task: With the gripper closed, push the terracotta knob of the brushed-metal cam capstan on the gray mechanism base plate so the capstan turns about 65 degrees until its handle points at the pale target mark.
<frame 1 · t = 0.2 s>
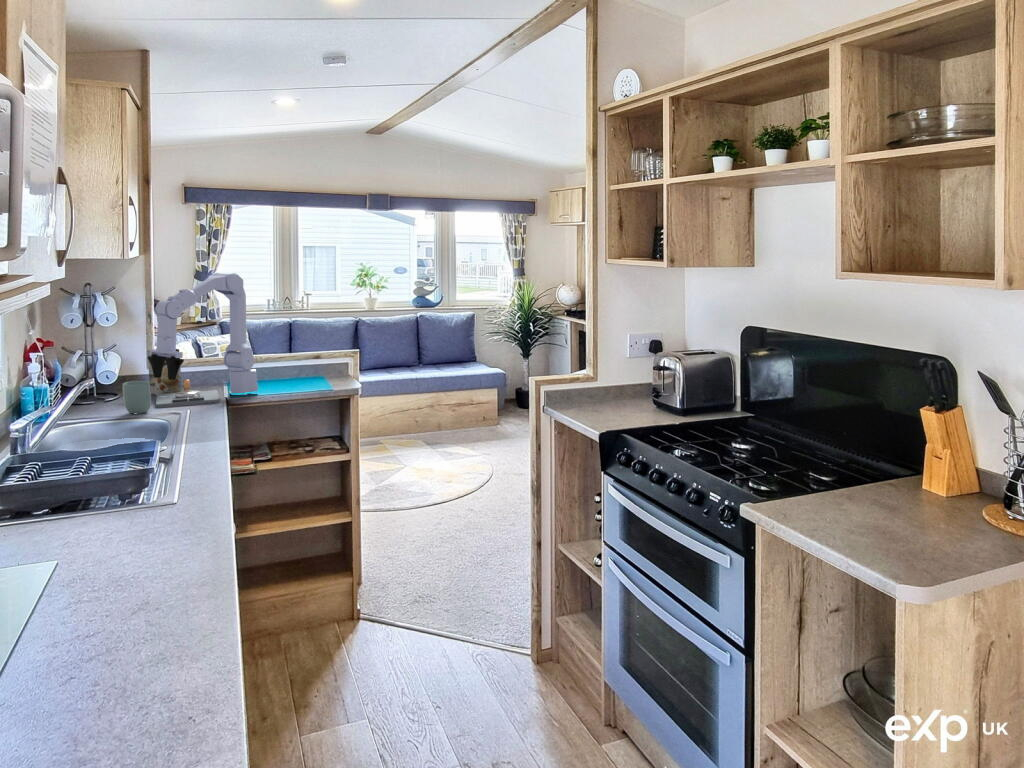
hand: (164, 378, 241), 11 cm above the countertop, tool pointing down, fingers open, 7 cm apart
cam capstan: (187, 388, 260), point 4 cm above the countertop, hinge at 0.0°
coffee box: (166, 393, 272), on the countertop
cup: (138, 413, 240), on the countertop
gray mechanism base plate: (188, 400, 259), on the countertop
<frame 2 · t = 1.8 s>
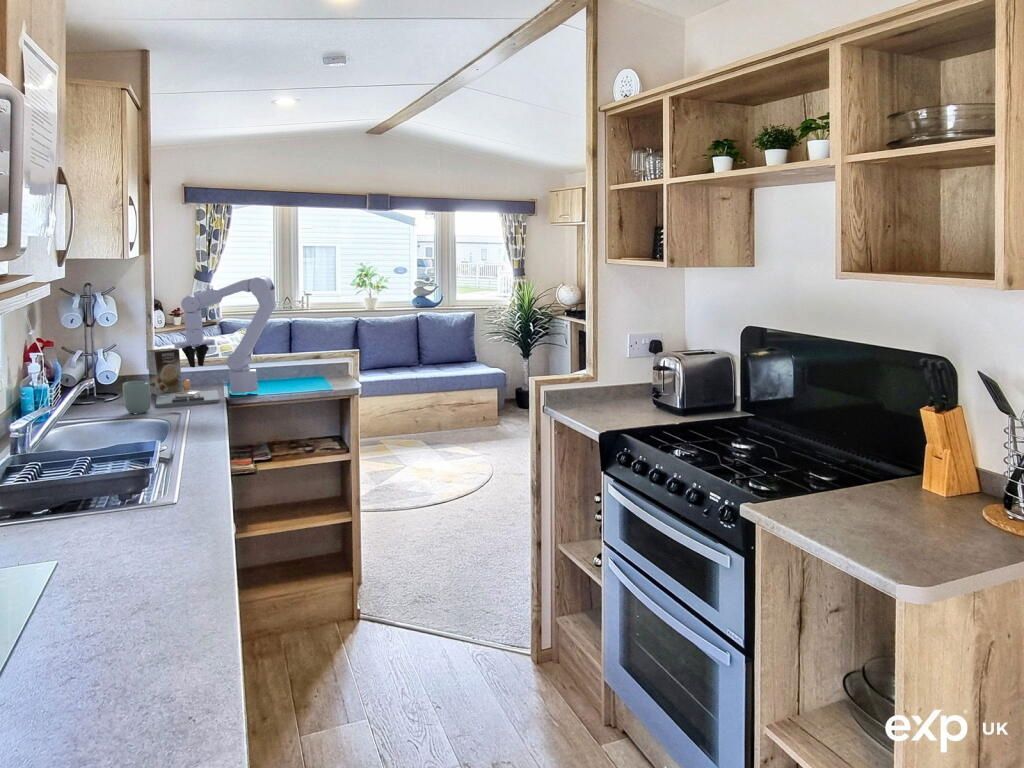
hand: (196, 366, 267), 10 cm above the countertop, tool pointing down, fingers open, 3 cm apart
nothing on the countertop moved.
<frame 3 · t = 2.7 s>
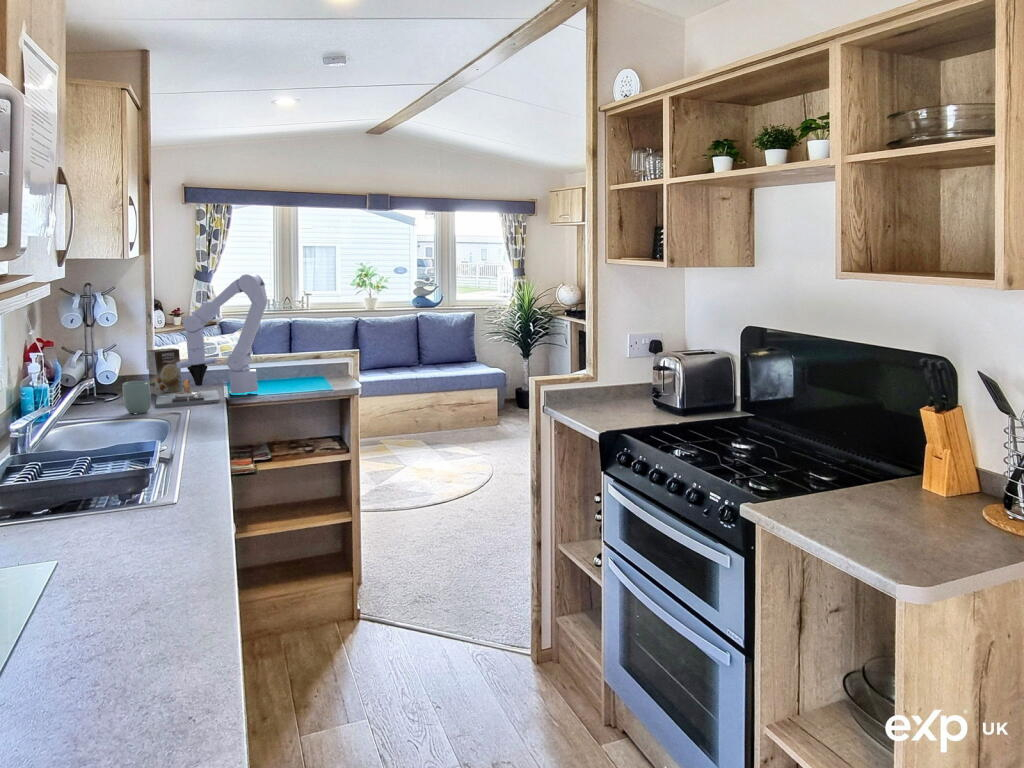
hand: (198, 385, 268), 3 cm above the countertop, tool pointing down, fingers closed
nothing on the countertop moved.
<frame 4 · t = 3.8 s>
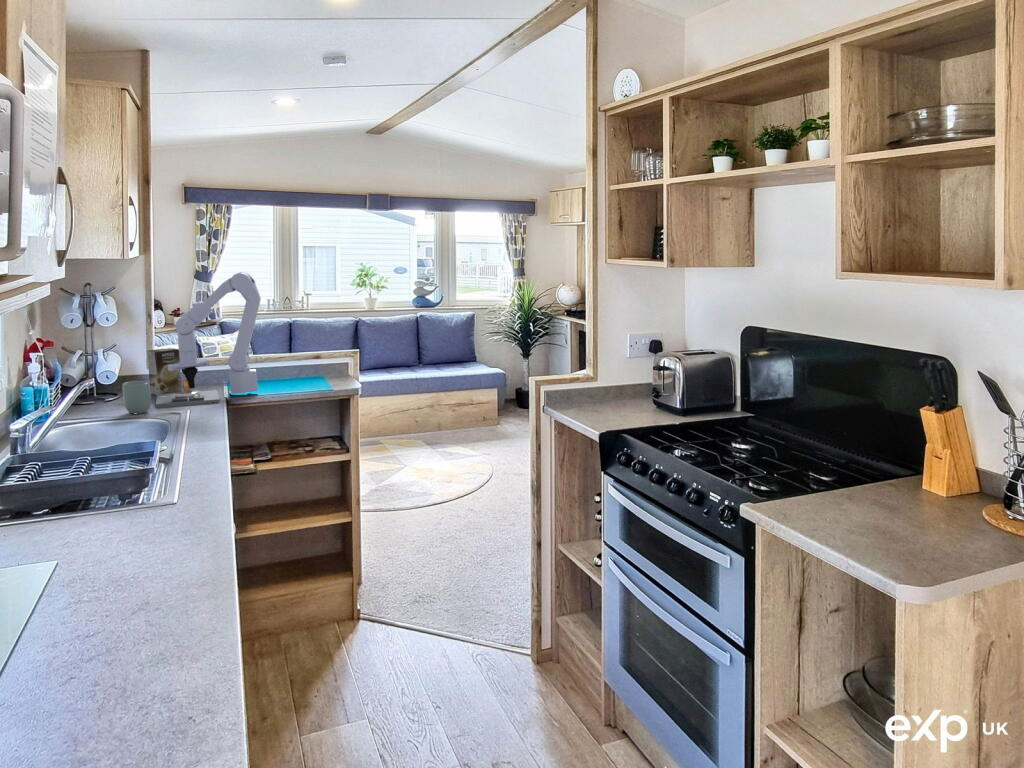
hand: (190, 388, 266), 3 cm above the countertop, tool pointing down, fingers closed, pressing on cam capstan
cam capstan: (187, 388, 260), point 4 cm above the countertop, hinge at 1.4°, touching gripper
everything else where it was.
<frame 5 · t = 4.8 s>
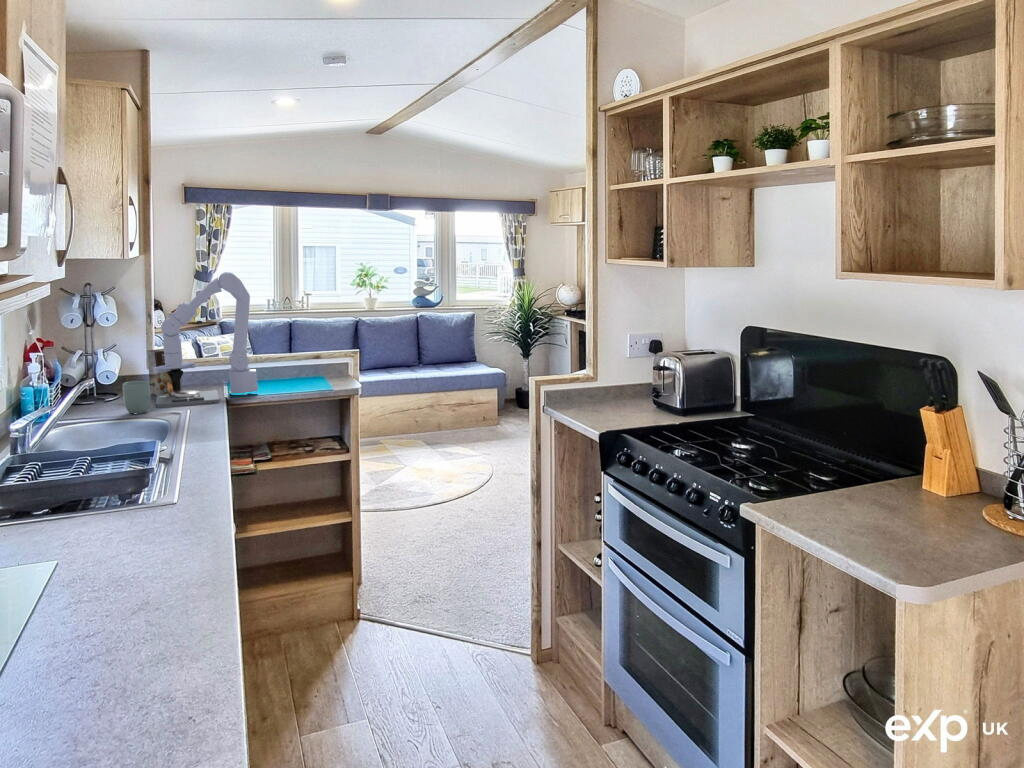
hand: (176, 390, 261), 3 cm above the countertop, tool pointing down, fingers closed, pressing on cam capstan
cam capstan: (182, 389, 259), point 4 cm above the countertop, hinge at 48.7°, touching gripper
everything else where it was.
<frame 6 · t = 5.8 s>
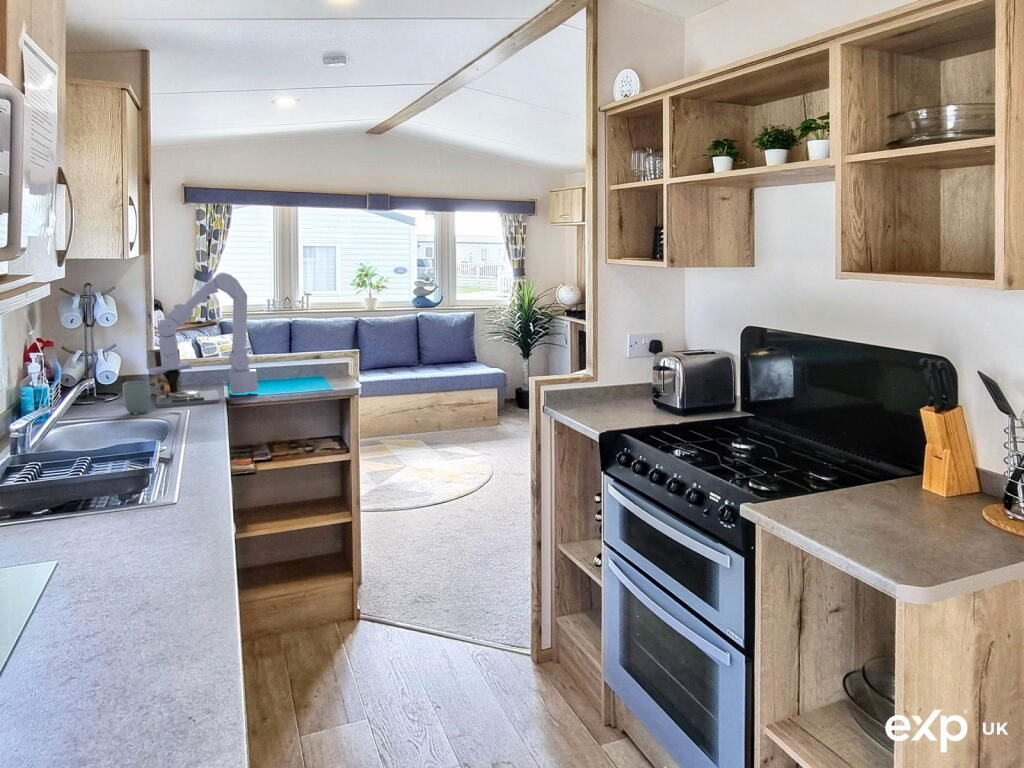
hand: (173, 391, 260), 3 cm above the countertop, tool pointing down, fingers closed, pressing on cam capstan
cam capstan: (181, 389, 259), point 4 cm above the countertop, hinge at 62.7°, touching gripper
everything else where it was.
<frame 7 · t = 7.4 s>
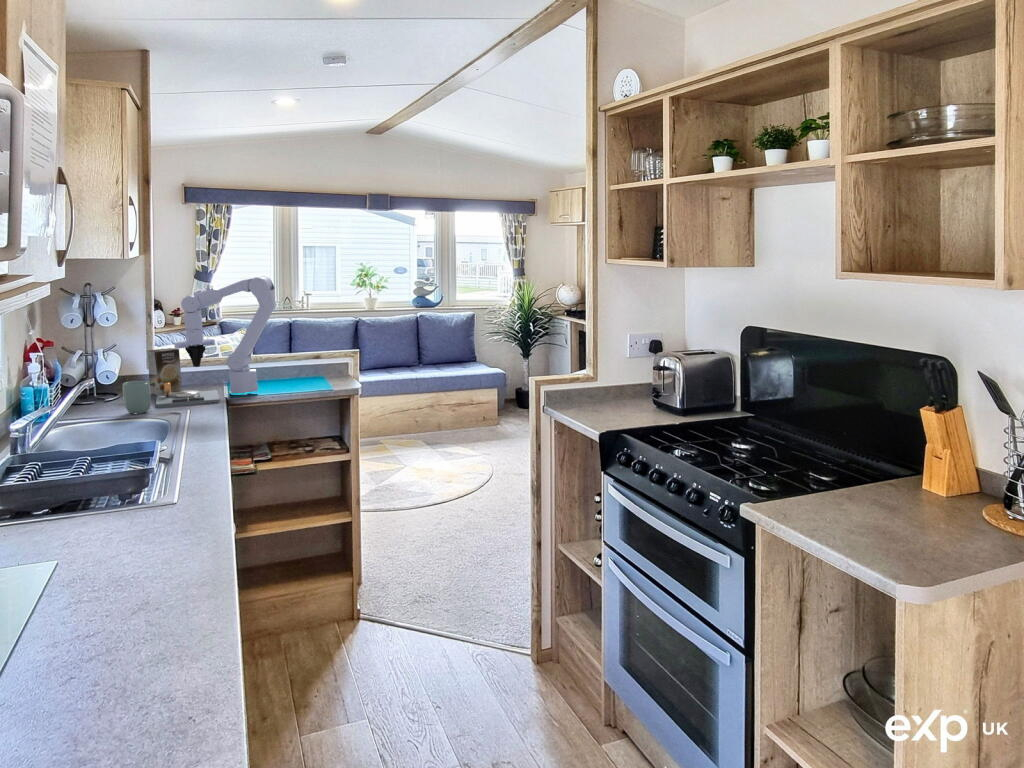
hand: (196, 366, 267), 10 cm above the countertop, tool pointing down, fingers closed
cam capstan: (181, 389, 259), point 4 cm above the countertop, hinge at 62.9°
everything else where it was.
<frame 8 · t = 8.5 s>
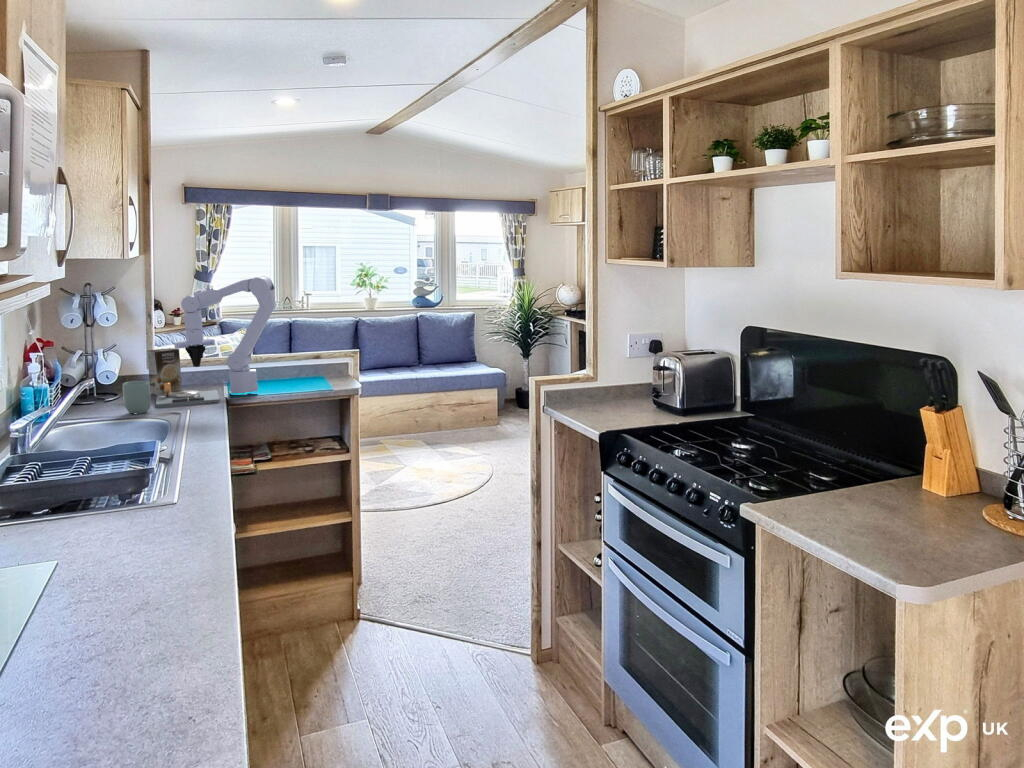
hand: (196, 366, 267), 10 cm above the countertop, tool pointing down, fingers closed
nothing on the countertop moved.
at the end: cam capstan at +63° (first picture: +0°) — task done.
